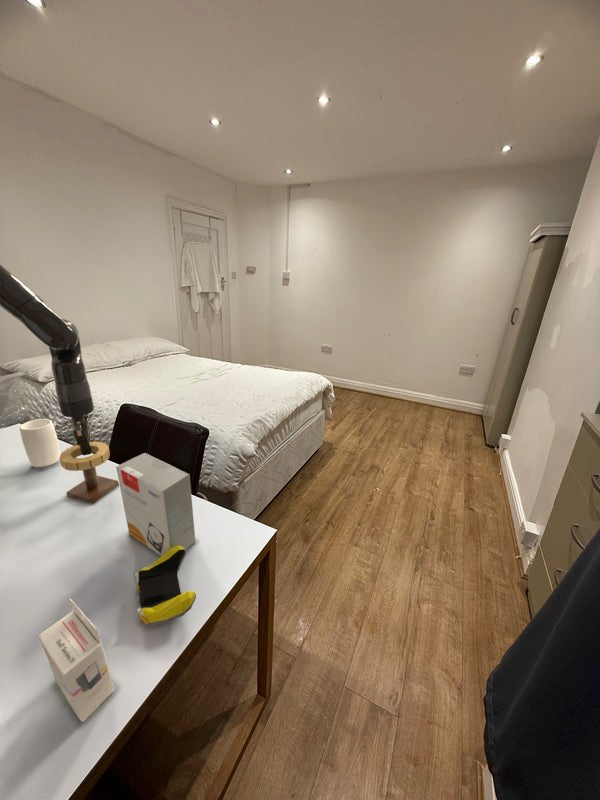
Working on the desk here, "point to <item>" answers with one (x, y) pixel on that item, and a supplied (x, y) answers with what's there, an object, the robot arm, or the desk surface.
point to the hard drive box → (157, 503)
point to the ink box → (78, 662)
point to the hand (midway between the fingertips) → (87, 451)
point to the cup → (40, 442)
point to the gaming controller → (163, 589)
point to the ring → (75, 464)
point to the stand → (92, 487)
